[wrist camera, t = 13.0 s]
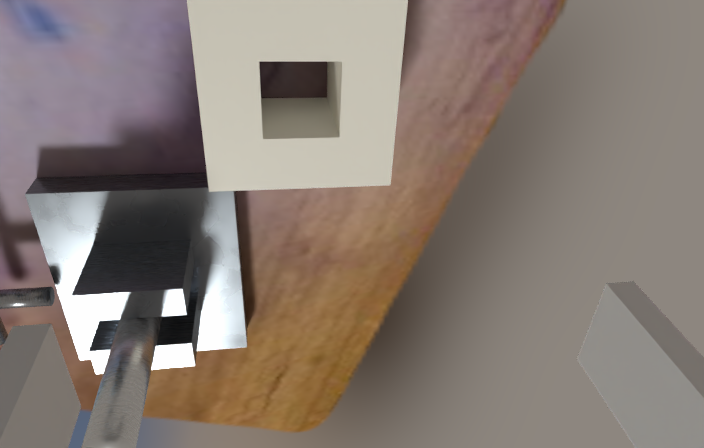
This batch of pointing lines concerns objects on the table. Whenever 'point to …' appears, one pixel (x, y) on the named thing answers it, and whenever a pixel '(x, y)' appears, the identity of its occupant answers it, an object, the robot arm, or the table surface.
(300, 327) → the table surface
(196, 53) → the collar
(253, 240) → the table surface
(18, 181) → the table surface
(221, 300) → the vise
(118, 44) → the table surface
